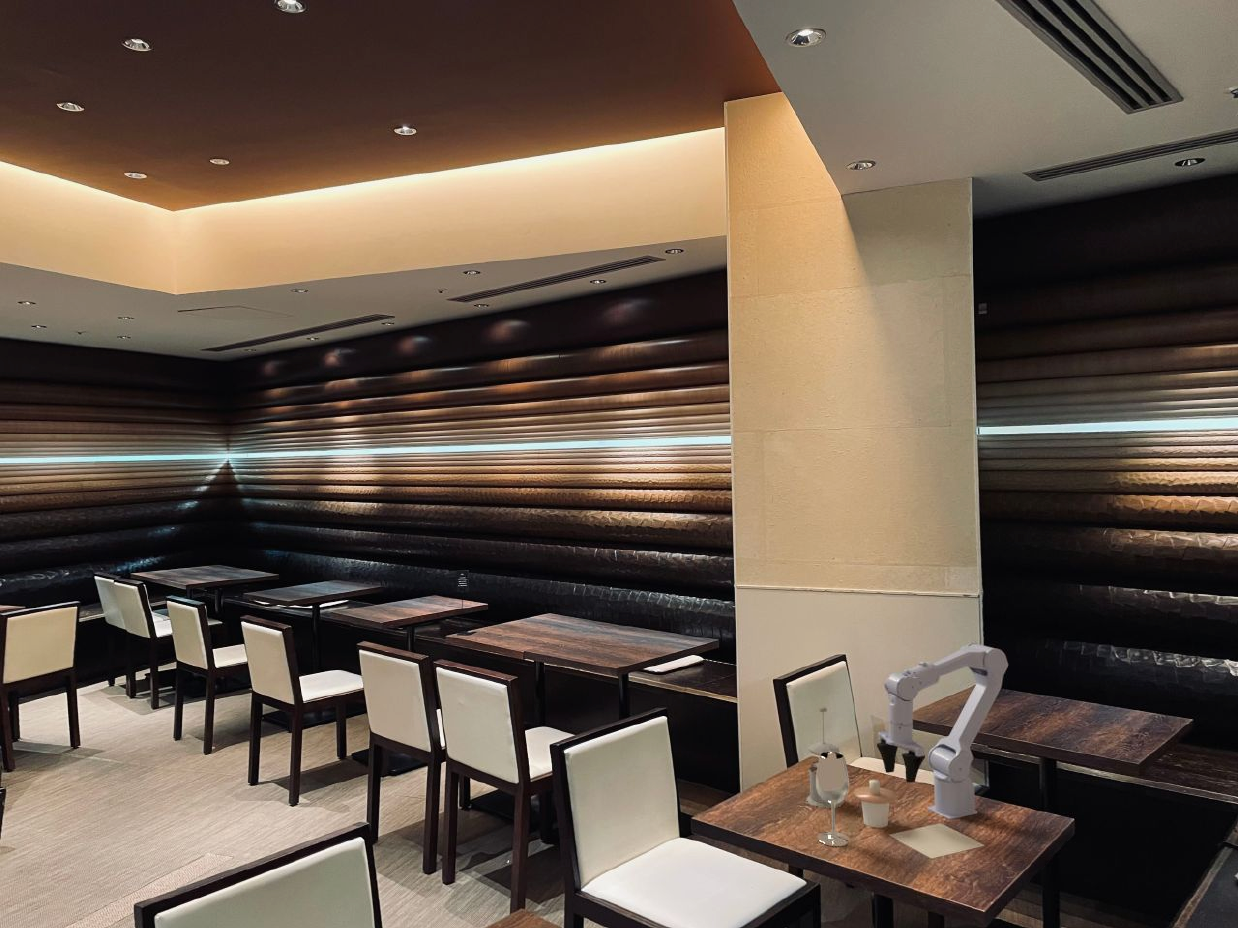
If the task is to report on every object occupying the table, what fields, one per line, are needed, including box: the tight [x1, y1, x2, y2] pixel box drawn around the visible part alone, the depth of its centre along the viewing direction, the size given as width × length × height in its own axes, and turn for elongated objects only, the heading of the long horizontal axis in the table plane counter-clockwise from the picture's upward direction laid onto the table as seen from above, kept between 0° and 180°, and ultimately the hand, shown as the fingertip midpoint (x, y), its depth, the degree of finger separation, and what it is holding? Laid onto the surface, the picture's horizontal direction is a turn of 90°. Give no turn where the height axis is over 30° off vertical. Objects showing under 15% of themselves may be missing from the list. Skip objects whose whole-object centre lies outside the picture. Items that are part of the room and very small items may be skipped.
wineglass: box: [815, 752, 851, 847], centre depth 200 cm, size 8×8×20 cm
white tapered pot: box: [861, 801, 890, 828], centre depth 208 cm, size 7×7×7 cm
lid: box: [853, 779, 897, 804], centre depth 209 cm, size 10×10×4 cm
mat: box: [888, 823, 986, 860], centre depth 198 cm, size 16×14×1 cm
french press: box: [806, 706, 847, 809], centre depth 225 cm, size 10×12×25 cm
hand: (900, 776), depth 212 cm, fingers open, 7 cm apart
